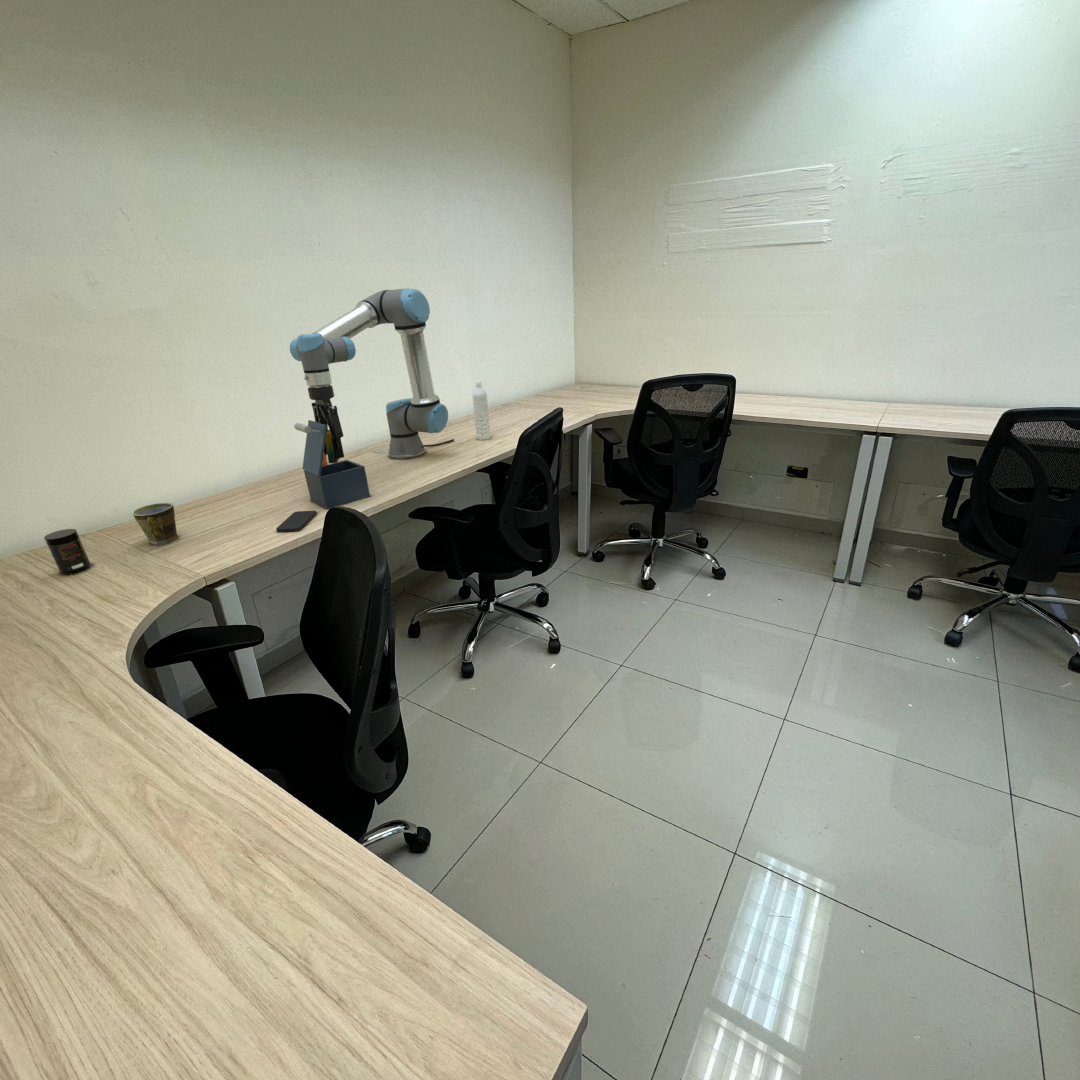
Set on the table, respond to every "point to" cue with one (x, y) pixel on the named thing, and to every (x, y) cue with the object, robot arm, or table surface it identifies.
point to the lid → (313, 446)
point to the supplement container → (67, 551)
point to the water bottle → (481, 413)
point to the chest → (338, 484)
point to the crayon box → (330, 447)
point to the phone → (296, 521)
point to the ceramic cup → (157, 522)
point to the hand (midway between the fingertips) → (334, 455)
